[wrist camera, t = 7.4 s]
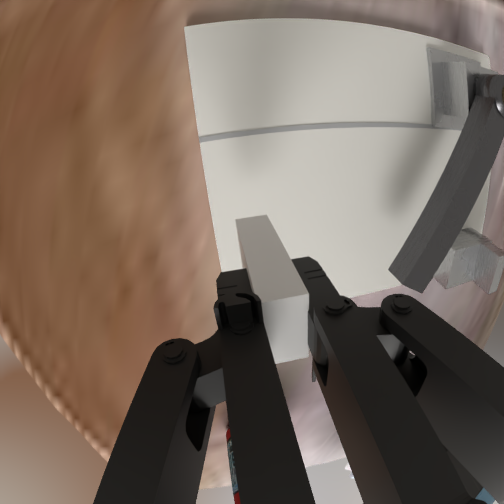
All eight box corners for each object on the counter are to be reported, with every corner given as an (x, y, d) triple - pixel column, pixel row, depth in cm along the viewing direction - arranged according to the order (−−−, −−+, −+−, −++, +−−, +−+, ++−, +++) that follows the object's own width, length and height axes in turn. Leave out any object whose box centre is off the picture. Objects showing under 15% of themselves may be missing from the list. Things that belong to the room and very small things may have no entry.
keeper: (464, 261, 23) (498, 289, 19) (426, 271, 23) (462, 305, 19) (471, 227, 22) (509, 253, 17) (433, 234, 22) (473, 265, 17)
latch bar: (481, 64, 12) (507, 66, 10) (502, 92, 13) (526, 96, 11) (383, 267, 18) (403, 287, 16) (411, 280, 19) (430, 299, 17)
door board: (468, 259, 25) (475, 264, 24) (230, 313, 23) (231, 321, 22) (481, 56, 16) (489, 56, 15) (185, 31, 14) (184, 26, 13)
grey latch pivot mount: (480, 130, 18) (506, 137, 15) (431, 126, 17) (459, 132, 15) (477, 62, 15) (503, 62, 12) (426, 47, 15) (453, 44, 12)
